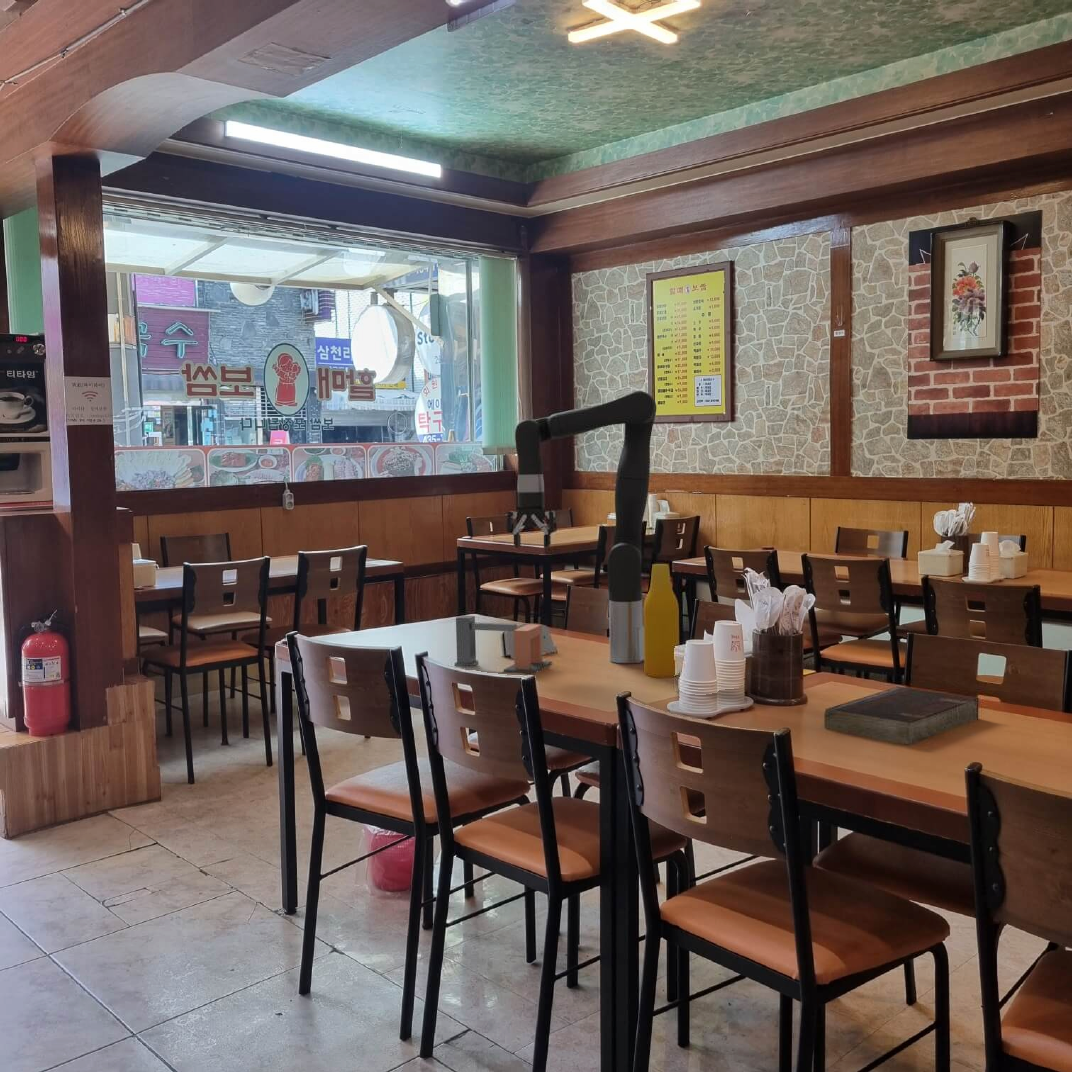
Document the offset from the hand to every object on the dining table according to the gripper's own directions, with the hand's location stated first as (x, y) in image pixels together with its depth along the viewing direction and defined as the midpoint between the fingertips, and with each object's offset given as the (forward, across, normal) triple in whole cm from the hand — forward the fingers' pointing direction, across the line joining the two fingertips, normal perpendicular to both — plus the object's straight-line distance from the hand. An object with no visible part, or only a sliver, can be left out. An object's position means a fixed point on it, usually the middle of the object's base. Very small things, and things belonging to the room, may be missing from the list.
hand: (532, 547), depth 296 cm
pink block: (+31, -2, +12) cm, 34 cm away
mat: (+32, -2, +12) cm, 34 cm away
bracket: (+32, +10, +12) cm, 36 cm away
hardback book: (+33, -100, +48) cm, 116 cm away
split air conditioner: (+32, +5, -8) cm, 34 cm away
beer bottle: (+32, -40, +12) cm, 53 cm away
